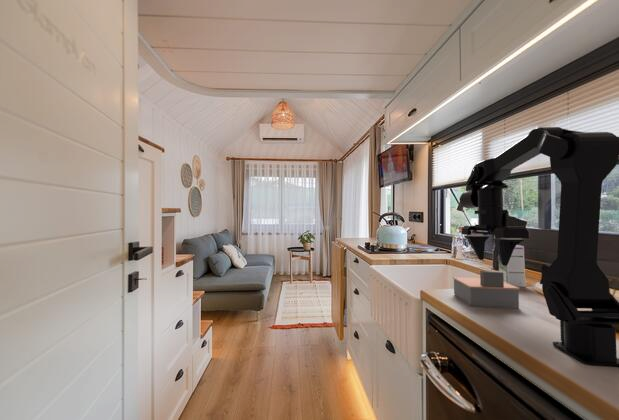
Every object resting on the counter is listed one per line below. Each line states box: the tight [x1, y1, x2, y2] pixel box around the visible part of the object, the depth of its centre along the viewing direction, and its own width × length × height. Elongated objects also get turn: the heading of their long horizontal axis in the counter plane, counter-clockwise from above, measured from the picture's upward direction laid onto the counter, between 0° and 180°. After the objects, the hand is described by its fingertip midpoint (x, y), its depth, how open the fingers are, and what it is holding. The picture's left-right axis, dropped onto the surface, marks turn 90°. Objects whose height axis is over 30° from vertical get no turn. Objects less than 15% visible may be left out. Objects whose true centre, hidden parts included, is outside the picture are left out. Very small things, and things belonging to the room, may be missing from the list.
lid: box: [452, 270, 521, 291], centre depth 72 cm, size 10×12×4 cm
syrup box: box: [498, 244, 527, 288], centre depth 89 cm, size 6×6×14 cm
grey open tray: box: [453, 279, 520, 309], centre depth 71 cm, size 10×12×5 cm
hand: (492, 262), depth 68 cm, fingers open, 9 cm apart
